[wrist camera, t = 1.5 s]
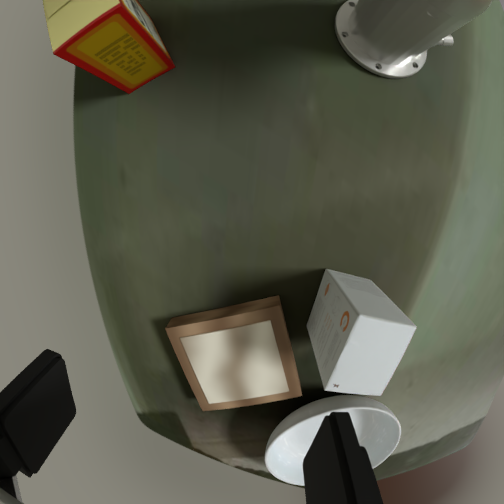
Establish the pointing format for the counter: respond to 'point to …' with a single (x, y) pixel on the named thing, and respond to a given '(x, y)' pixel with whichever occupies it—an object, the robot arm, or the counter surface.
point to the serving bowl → (309, 421)
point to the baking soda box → (108, 40)
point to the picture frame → (236, 354)
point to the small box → (356, 334)
